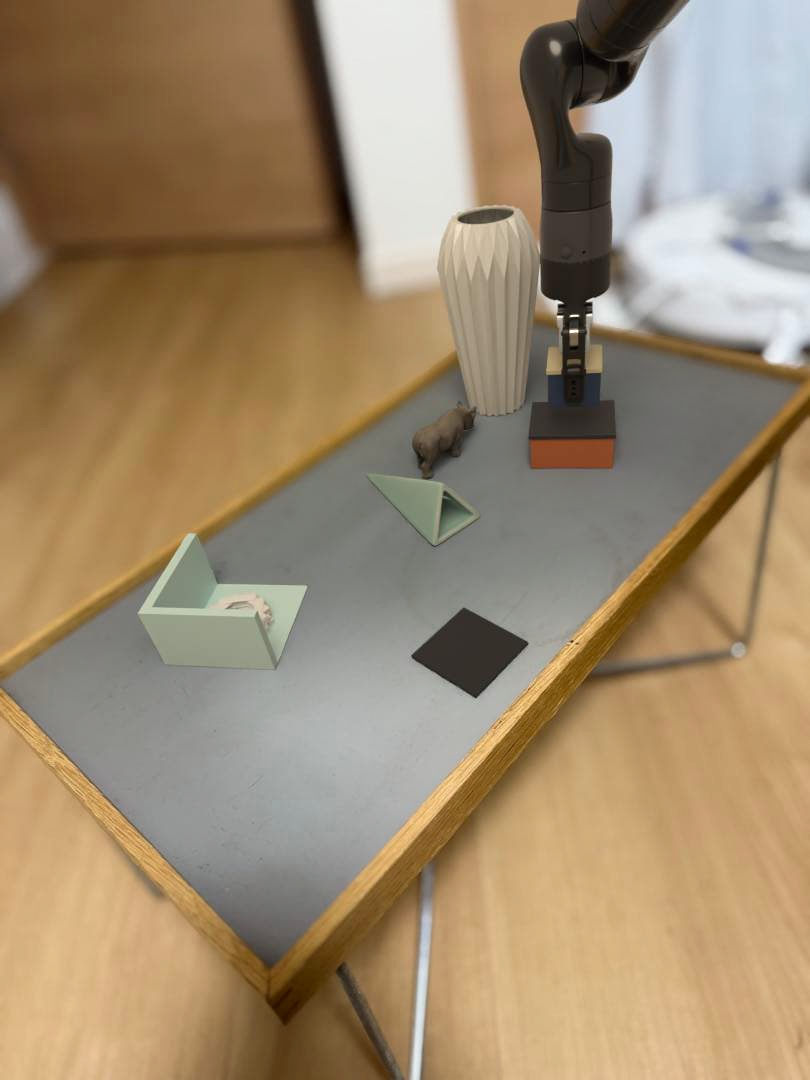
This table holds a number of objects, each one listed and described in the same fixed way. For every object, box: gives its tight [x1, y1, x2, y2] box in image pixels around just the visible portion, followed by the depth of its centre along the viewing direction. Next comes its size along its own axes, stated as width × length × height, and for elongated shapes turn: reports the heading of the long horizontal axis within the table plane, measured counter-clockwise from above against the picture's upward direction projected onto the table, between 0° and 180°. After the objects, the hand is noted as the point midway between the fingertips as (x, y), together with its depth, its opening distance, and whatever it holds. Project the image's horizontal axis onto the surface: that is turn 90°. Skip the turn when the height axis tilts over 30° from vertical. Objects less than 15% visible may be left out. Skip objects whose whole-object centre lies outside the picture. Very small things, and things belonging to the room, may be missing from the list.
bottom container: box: [527, 399, 617, 469], centre depth 90 cm, size 10×8×5 cm
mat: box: [410, 606, 529, 699], centre depth 67 cm, size 8×8×1 cm
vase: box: [436, 204, 540, 418], centre depth 95 cm, size 13×13×26 cm
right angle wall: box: [137, 532, 309, 671], centre depth 73 cm, size 12×12×8 cm
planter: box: [366, 473, 481, 547], centre depth 87 cm, size 8×6×18 cm
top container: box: [545, 344, 603, 408], centre depth 85 cm, size 6×6×5 cm
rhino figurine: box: [411, 400, 477, 479], centre depth 93 cm, size 4×14×6 cm, turn 141°
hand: (574, 387), depth 86 cm, fingers closed on top container, 6 cm apart
